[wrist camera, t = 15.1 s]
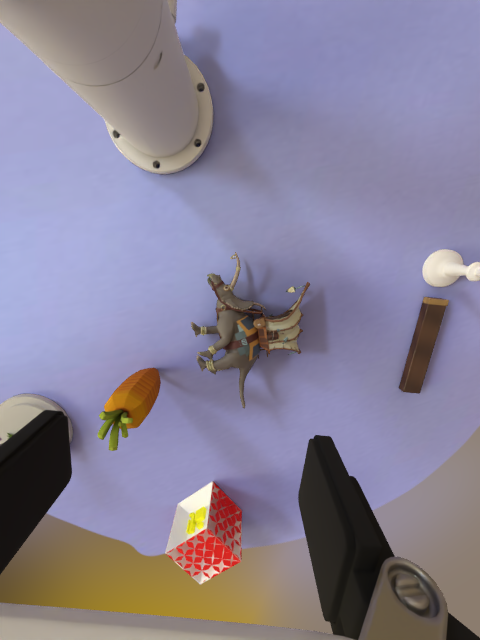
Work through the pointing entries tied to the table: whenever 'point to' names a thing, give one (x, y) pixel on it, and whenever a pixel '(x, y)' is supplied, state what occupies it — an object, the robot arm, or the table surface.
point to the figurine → (246, 330)
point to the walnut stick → (423, 344)
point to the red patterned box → (206, 534)
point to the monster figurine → (24, 413)
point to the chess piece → (448, 268)
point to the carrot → (130, 404)
